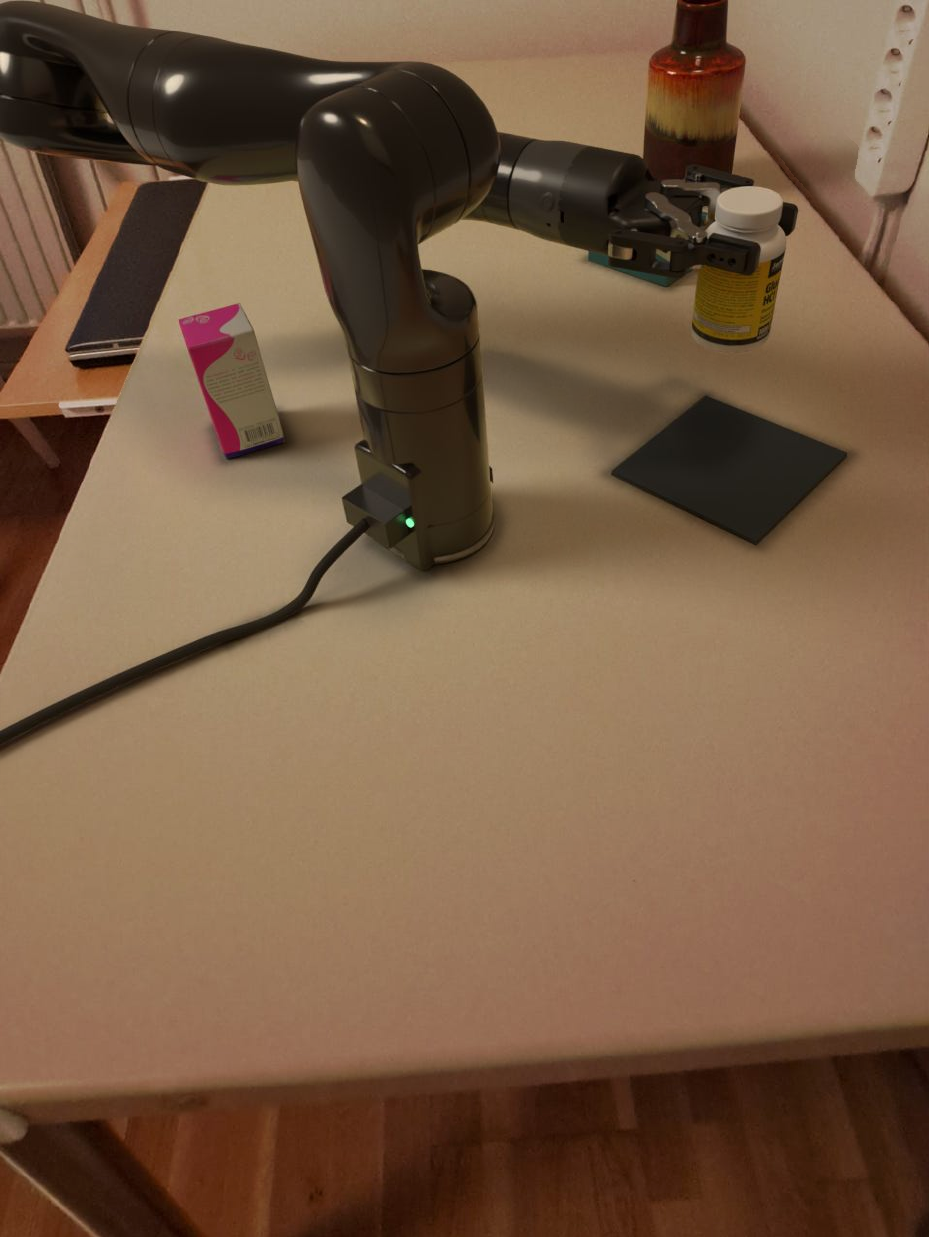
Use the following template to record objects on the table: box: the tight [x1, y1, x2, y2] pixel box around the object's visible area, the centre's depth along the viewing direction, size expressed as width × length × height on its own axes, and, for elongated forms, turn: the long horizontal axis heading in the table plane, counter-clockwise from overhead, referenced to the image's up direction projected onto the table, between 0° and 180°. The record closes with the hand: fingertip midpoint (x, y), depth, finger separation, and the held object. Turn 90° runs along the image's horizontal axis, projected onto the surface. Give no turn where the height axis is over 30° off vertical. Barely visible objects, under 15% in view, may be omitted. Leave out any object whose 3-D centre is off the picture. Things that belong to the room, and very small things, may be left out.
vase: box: [642, 0, 747, 189], centre depth 109 cm, size 11×11×20 cm
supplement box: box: [178, 302, 286, 460], centre depth 84 cm, size 6×6×12 cm
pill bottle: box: [690, 186, 787, 355], centre depth 72 cm, size 6×6×11 cm
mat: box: [610, 394, 848, 545], centre depth 79 cm, size 14×14×1 cm
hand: (775, 240), depth 69 cm, fingers closed on pill bottle, 6 cm apart
